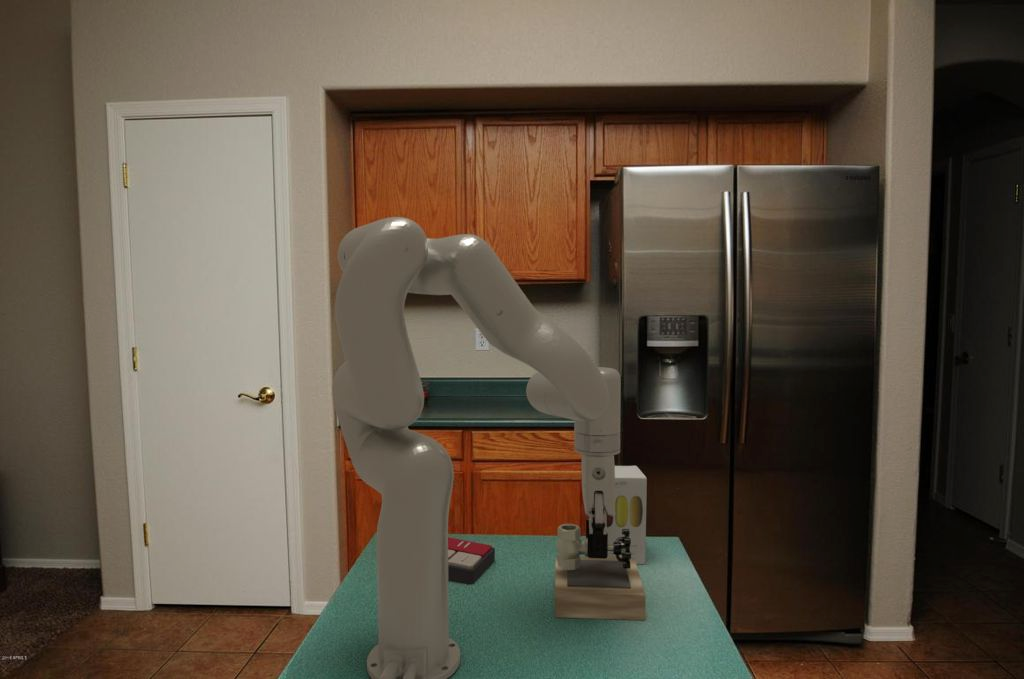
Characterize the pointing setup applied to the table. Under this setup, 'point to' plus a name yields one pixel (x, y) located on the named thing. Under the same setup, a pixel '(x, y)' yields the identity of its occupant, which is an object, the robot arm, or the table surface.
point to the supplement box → (629, 511)
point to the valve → (573, 547)
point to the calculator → (468, 560)
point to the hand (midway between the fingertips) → (596, 549)
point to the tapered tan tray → (599, 590)
